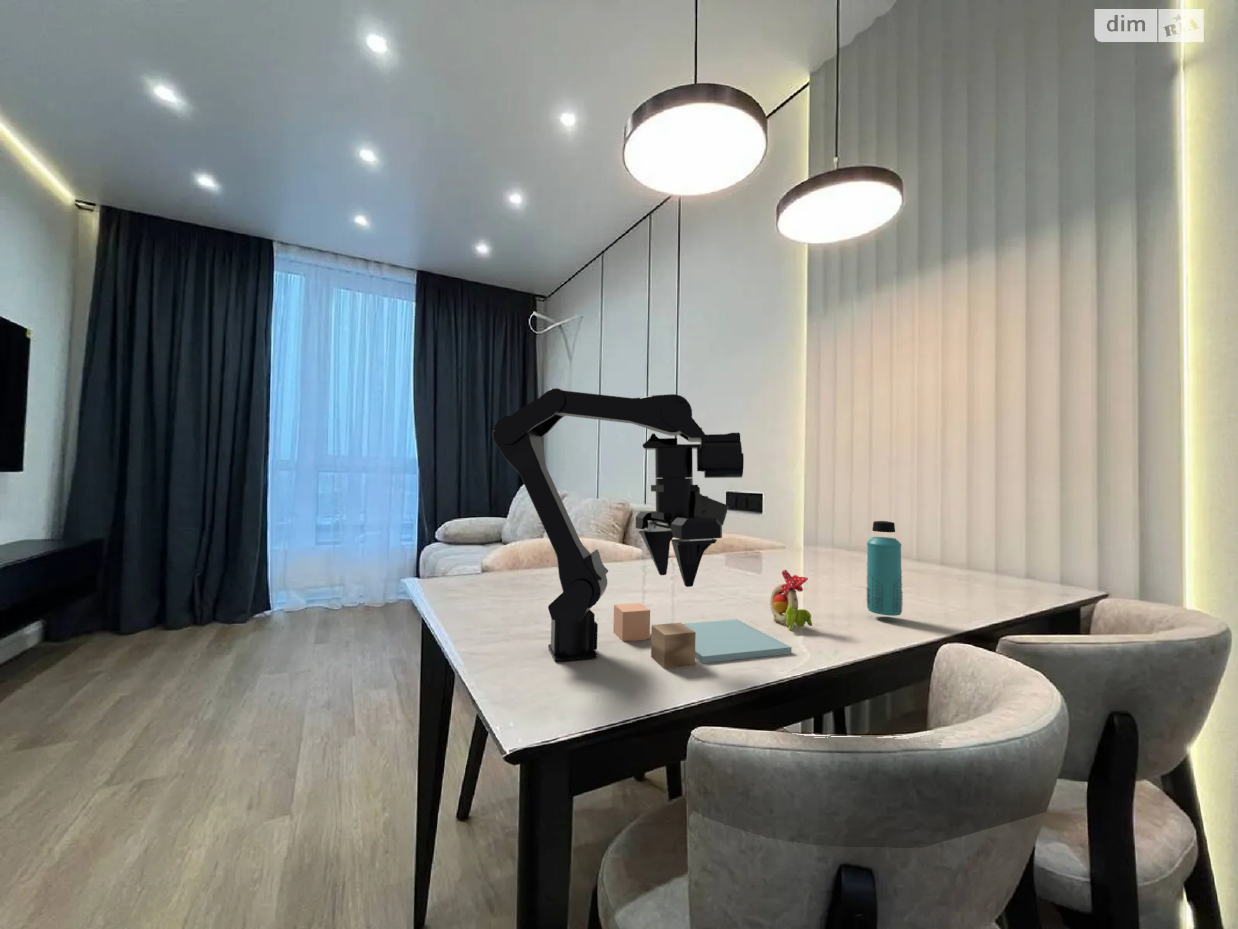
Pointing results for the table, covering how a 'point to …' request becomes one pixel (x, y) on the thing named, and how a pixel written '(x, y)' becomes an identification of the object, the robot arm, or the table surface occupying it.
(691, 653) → the walnut cube
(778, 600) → the bird rattle
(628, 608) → the terracotta cube
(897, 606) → the beverage bottle
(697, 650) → the board
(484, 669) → the table surface
